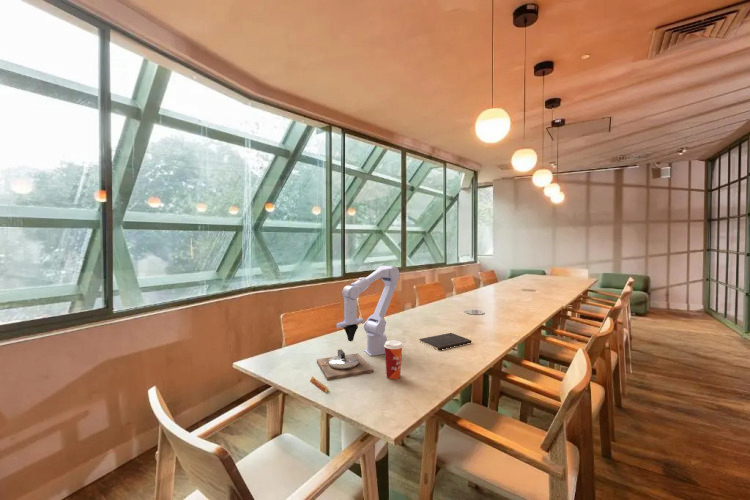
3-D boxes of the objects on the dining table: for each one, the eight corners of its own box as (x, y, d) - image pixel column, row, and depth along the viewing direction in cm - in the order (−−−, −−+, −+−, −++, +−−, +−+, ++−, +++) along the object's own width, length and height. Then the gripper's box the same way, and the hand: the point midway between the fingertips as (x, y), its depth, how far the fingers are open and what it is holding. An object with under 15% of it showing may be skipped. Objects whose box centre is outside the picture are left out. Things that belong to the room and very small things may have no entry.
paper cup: (397, 382, 125) (397, 347, 124) (380, 377, 129) (380, 343, 128) (406, 375, 131) (406, 341, 131) (389, 370, 136) (390, 338, 135)
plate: (357, 355, 153) (357, 352, 153) (373, 372, 134) (373, 368, 134) (316, 361, 145) (316, 358, 145) (327, 380, 127) (327, 376, 127)
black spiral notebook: (419, 343, 173) (419, 338, 173) (451, 336, 184) (451, 332, 184) (438, 352, 159) (438, 347, 159) (471, 344, 170) (471, 340, 170)
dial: (353, 355, 149) (353, 347, 149) (362, 366, 136) (362, 357, 136) (325, 359, 144) (325, 351, 144) (333, 371, 131) (333, 362, 131)
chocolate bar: (315, 380, 127) (315, 375, 127) (330, 392, 118) (330, 386, 118) (309, 382, 126) (309, 377, 125) (324, 394, 116) (324, 388, 116)
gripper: (357, 308, 155) (357, 335, 155) (332, 312, 145) (332, 342, 145) (366, 310, 149) (366, 339, 150) (341, 315, 140) (341, 345, 140)
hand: (350, 340), depth 147 cm, fingers closed
